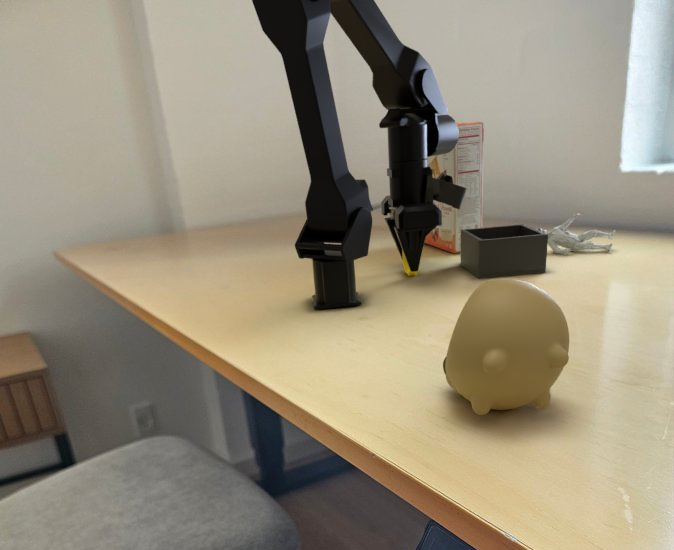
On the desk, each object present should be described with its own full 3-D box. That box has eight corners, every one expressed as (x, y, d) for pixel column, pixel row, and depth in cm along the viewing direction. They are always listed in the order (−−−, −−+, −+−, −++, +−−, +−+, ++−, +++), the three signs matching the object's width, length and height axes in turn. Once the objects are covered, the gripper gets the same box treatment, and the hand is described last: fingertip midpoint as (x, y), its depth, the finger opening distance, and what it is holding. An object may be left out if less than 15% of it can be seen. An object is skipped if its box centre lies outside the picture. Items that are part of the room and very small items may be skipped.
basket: (545, 272, 98) (548, 234, 96) (478, 278, 98) (479, 240, 96) (521, 258, 108) (523, 224, 106) (460, 264, 108) (460, 229, 106)
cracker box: (420, 243, 128) (417, 124, 119) (448, 239, 129) (448, 121, 120) (452, 254, 116) (452, 122, 107) (482, 250, 117) (485, 119, 108)
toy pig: (547, 433, 58) (521, 331, 62) (605, 367, 47) (569, 248, 51) (439, 443, 58) (420, 338, 61) (472, 378, 46) (446, 256, 50)
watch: (398, 271, 107) (397, 233, 104) (415, 269, 107) (414, 231, 105) (406, 278, 102) (405, 238, 99) (423, 276, 102) (423, 237, 99)
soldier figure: (608, 261, 106) (536, 240, 107) (597, 276, 111) (528, 256, 112) (619, 221, 108) (548, 200, 109) (607, 238, 113) (540, 218, 114)
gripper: (478, 158, 89) (476, 274, 96) (447, 153, 106) (447, 252, 113) (397, 165, 89) (401, 281, 96) (378, 159, 105) (383, 258, 112)
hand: (410, 267), depth 104 cm, fingers closed on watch, 6 cm apart
